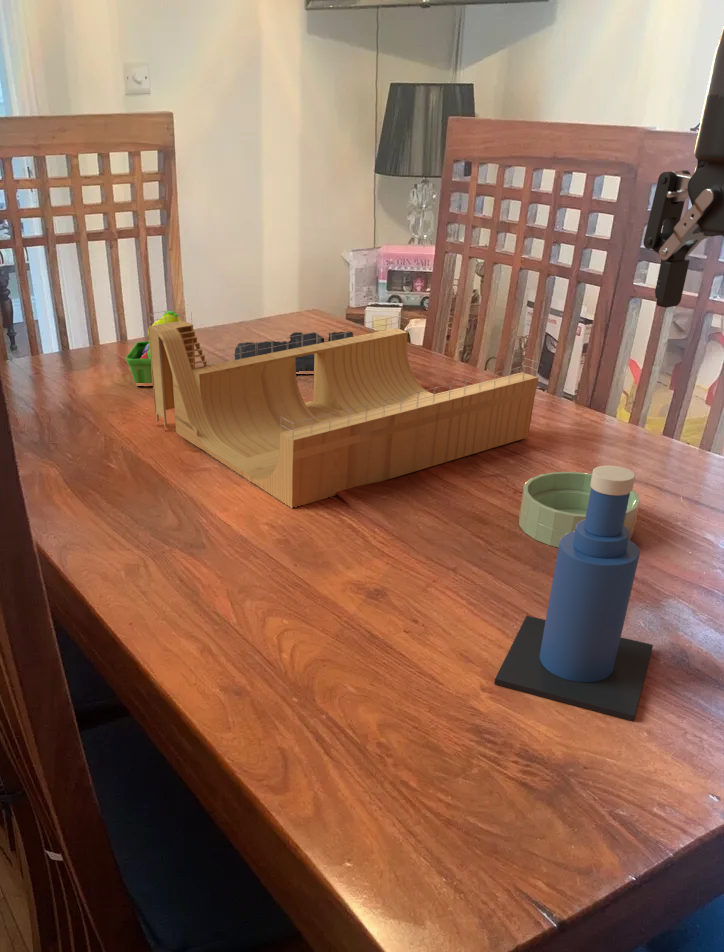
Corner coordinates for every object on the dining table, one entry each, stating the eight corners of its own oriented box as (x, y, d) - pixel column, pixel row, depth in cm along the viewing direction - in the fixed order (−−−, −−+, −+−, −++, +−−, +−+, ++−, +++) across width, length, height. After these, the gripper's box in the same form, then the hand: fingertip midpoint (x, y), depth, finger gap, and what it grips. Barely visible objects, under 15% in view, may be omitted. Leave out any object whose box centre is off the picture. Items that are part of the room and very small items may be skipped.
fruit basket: (139, 370, 152) (133, 304, 146) (189, 370, 152) (185, 303, 146) (127, 390, 142) (120, 320, 136) (181, 389, 142) (176, 319, 136)
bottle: (580, 636, 76) (617, 453, 68) (629, 672, 72) (675, 480, 63) (524, 651, 75) (555, 465, 66) (570, 689, 70) (609, 494, 61)
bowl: (581, 500, 102) (587, 465, 100) (655, 542, 93) (664, 504, 91) (496, 518, 99) (501, 482, 96) (565, 564, 89) (572, 525, 87)
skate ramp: (291, 516, 102) (292, 383, 93) (155, 425, 127) (146, 313, 118) (527, 444, 121) (546, 327, 112) (368, 377, 145) (374, 277, 137)
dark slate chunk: (233, 353, 160) (232, 327, 158) (351, 350, 161) (352, 324, 159) (235, 377, 147) (234, 349, 145) (363, 373, 148) (364, 345, 146)
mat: (525, 620, 80) (526, 615, 80) (651, 650, 75) (653, 644, 75) (493, 684, 72) (494, 678, 71) (633, 721, 67) (635, 715, 67)
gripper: (649, 90, 67) (610, 305, 75) (822, 88, 56) (755, 340, 64) (715, 88, 70) (671, 296, 78) (892, 86, 59) (819, 328, 67)
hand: (709, 315), depth 71 cm, fingers open, 8 cm apart
